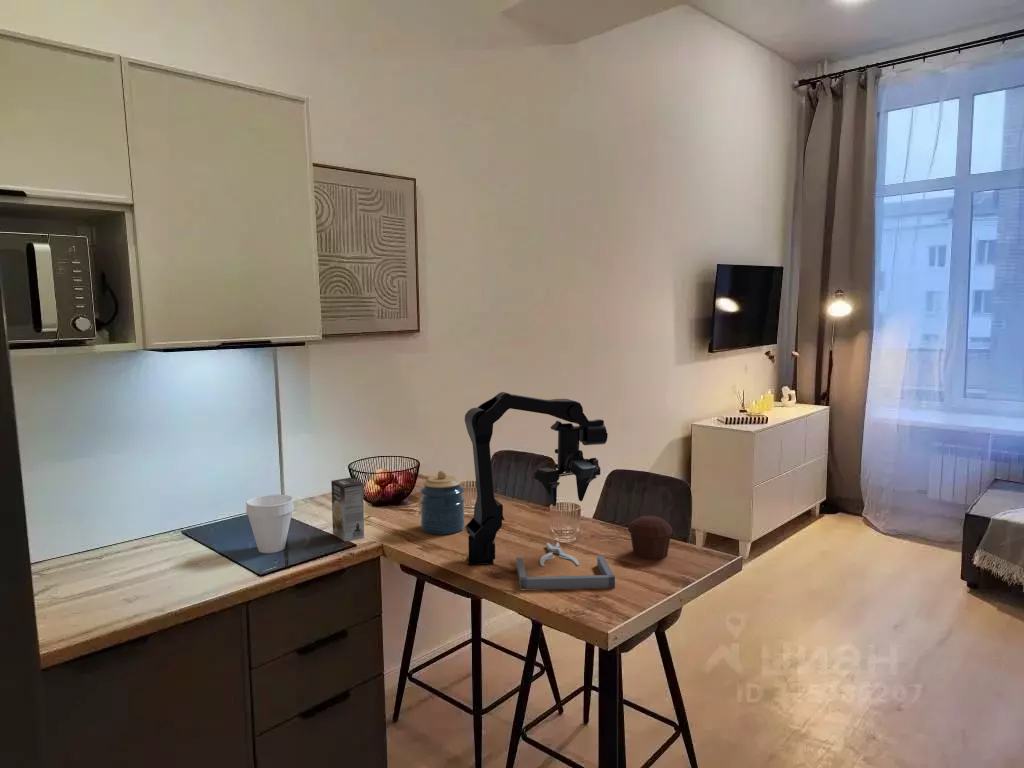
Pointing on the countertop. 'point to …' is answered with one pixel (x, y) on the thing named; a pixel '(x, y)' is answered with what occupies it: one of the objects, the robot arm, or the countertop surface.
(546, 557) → the pliers
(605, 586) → the tool holder
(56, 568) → the countertop surface
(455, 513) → the canister
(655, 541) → the muffin
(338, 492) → the coffee box
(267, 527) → the white flower pot
